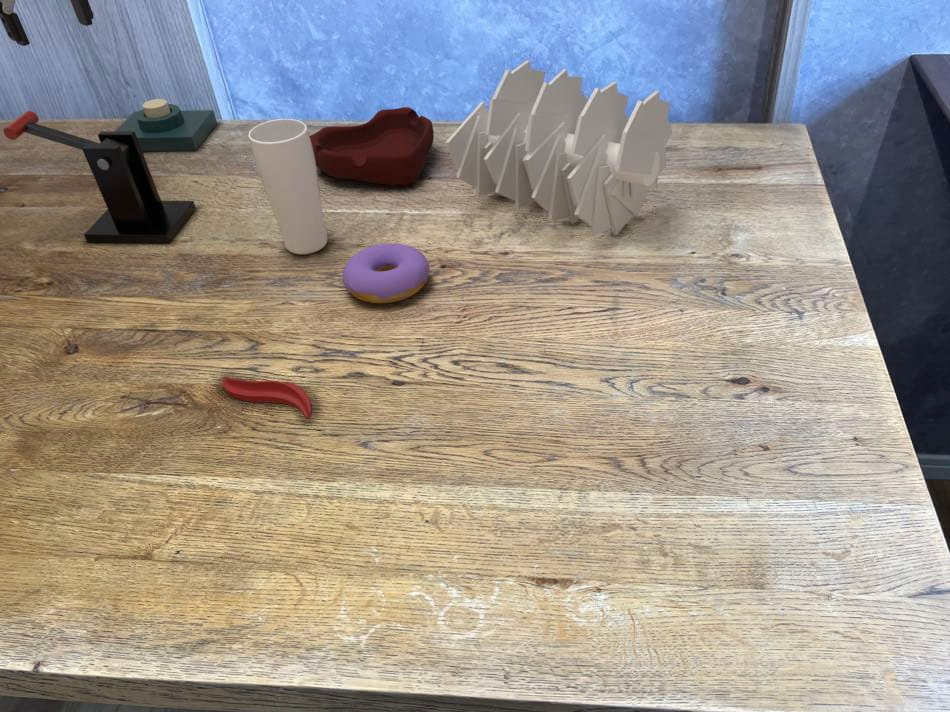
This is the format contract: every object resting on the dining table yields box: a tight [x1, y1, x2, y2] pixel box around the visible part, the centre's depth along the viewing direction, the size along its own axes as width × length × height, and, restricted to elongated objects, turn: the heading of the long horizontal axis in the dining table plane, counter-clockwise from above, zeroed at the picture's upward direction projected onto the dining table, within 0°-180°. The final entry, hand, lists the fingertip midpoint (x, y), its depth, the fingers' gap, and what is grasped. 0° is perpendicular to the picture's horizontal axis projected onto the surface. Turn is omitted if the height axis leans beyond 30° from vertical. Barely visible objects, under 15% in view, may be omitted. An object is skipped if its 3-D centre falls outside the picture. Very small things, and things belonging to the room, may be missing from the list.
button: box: [142, 98, 171, 118], centre depth 125 cm, size 4×4×2 cm
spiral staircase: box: [444, 60, 674, 237], centre depth 101 cm, size 18×18×25 cm
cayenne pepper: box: [221, 376, 312, 420], centre depth 81 cm, size 12×5×2 cm, turn 52°
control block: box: [115, 103, 218, 152], centre depth 127 cm, size 13×10×4 cm
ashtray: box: [309, 106, 435, 188], centre depth 116 cm, size 18×16×5 cm
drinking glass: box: [247, 118, 329, 255], centre depth 98 cm, size 7×7×15 cm
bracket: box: [81, 130, 197, 244], centre depth 104 cm, size 11×9×12 cm
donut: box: [342, 242, 430, 304], centre depth 94 cm, size 10×9×5 cm
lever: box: [3, 110, 130, 164], centre depth 100 cm, size 13×5×2 cm, turn 86°
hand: (55, 34), depth 104 cm, fingers open, 8 cm apart
